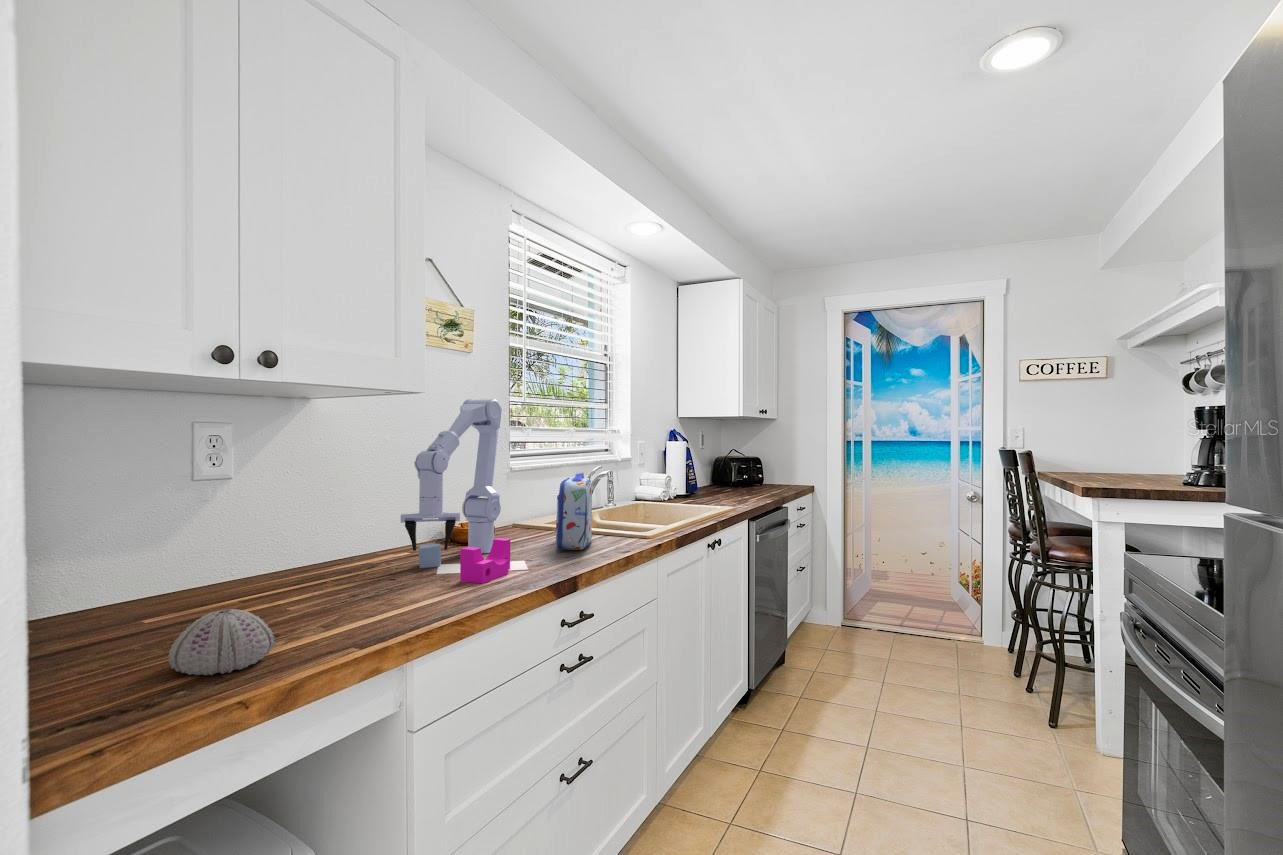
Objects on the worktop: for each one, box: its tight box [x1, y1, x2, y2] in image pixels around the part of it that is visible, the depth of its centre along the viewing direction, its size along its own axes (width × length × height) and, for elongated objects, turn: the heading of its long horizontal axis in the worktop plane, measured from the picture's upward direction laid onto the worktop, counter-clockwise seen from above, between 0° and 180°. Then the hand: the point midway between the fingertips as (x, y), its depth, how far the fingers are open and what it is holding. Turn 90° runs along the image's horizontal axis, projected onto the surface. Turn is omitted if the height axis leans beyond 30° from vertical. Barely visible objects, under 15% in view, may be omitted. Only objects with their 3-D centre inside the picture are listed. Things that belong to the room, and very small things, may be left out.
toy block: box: [459, 537, 511, 585], centre depth 154 cm, size 15×6×8 cm, turn 158°
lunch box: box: [555, 472, 593, 551], centre depth 195 cm, size 28×10×22 cm, turn 3°
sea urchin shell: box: [167, 608, 276, 676], centre depth 96 cm, size 13×14×8 cm
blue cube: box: [418, 543, 442, 569], centre depth 165 cm, size 5×5×5 cm
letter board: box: [436, 560, 529, 575], centre depth 163 cm, size 11×22×1 cm, turn 105°
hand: (430, 549), depth 165 cm, fingers open, 7 cm apart
